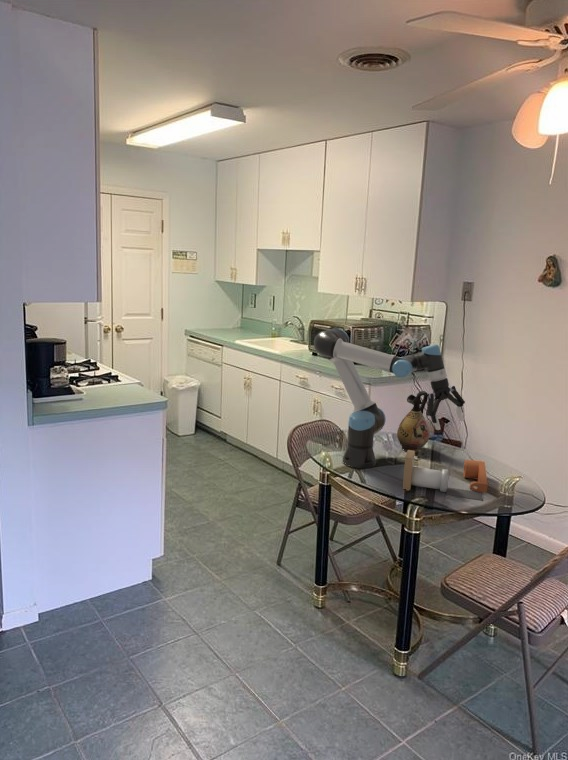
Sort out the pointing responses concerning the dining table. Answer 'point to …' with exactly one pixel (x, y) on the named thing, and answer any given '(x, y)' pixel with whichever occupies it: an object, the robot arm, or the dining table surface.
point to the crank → (476, 475)
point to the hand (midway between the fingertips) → (450, 425)
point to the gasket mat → (464, 493)
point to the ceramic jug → (414, 425)
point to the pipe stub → (423, 475)
